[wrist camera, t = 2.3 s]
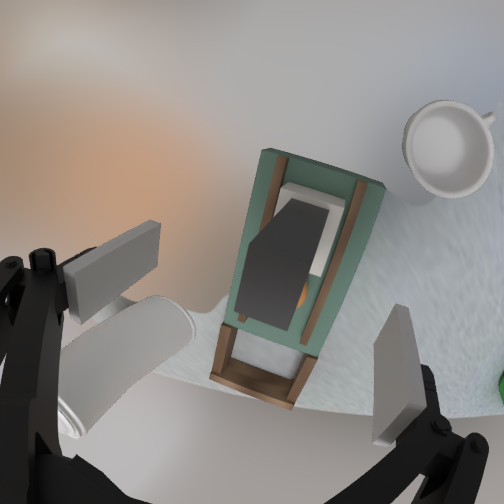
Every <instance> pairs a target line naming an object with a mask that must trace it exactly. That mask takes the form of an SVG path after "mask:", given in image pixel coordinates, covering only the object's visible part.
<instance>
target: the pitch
mask: <svg viewBox="0 0 504 504" xmlns="http://www.w3.org/2000/svg"><path fill="white" fill-rule="evenodd" d="M279 155H283V156H286V157H289V161H288V165H287V169H286V173H285V177H284V181H283V185H282V187H283V186H284V185H285V184H286V183H288V182H291V183H295V184H298V185H301V186H304V187H308V188H311V189H314V190H317V191H320V192H323V193H326V194H330V195H333V196H336V197H339V198H342V199H345V207H344V211H343V214H342V217H341V220H340V223H339V226H338V229H337V232H336V235H335V238H334V241H333V244H332V247H331V249H330V252H329V255H328V258H327V261H326V264H325V266H324V269H323V272H322V275H321V277H319V276H316V275H313V274H310V273H309V274H308V277H307V280H306V282H307V286H308V293H307V297H306V299H305V301H304V303H303V304H302V305H301V306H300V307H299V308H297V309H296V310H295V313H294V316H293V318H292V321H291V323H290V326H289V329H288V331H285V330H282V329H279V328H276V327H273V326H271V325H268V324H265V323H263V322H260V321H257V320H255V319H252V318H249V317H248V318H247V320H246V321H245V323H242V322H240V321H237V319H238V315H239V313H236V312H234V307H235V302H236V298H237V294H238V289H239V285H240V281H241V276H242V272H243V268H244V263H245V259H246V255H247V250H248V246H249V243H250V242H251V241H252V240H253V239H254V238H255V237H256V236H257V235H258V233H259V229H260V225H261V221H262V217H263V212H264V208H265V204H266V200H267V196H268V192H269V188H270V183H271V179H272V175H273V171H274V167H275V163H276V159H277V156H279ZM358 179H360V180H363V181H366V182H367V183H368V185H367V188H366V191H365V194H364V197H363V201H362V204H361V207H360V210H359V213H358V216H357V218H356V221H355V224H354V227H353V230H352V233H351V236H350V238H349V241H348V244H347V247H346V250H345V252H344V255H343V258H342V260H341V263H340V266H339V268H338V271H337V273H336V276H335V279H334V281H333V284H332V286H331V289H330V291H329V294H328V296H327V299H326V301H325V304H324V306H323V309H322V311H321V313H320V316H319V318H318V320H317V323H316V325H315V327H314V330H313V332H312V334H311V337H310V339H309V341H308V344H307V346H305V345H302V344H299V342H300V339H301V336H302V334H303V331H304V329H305V326H306V324H307V321H308V319H309V316H310V314H311V311H312V309H313V306H314V304H315V301H316V299H317V296H318V294H319V291H320V288H321V286H322V283H323V280H324V278H325V275H326V272H327V270H328V267H329V264H330V261H331V259H332V256H333V253H334V250H335V247H336V245H337V242H338V239H339V236H340V233H341V230H342V227H343V224H344V221H345V218H346V215H347V212H348V209H349V206H350V203H351V200H352V197H353V194H354V190H355V187H356V184H357V181H358ZM385 190H386V188H385V186H384V184H383V183H381V182H379V181H376V180H373V179H370V178H367V177H365V176H362V175H359V174H356V173H353V172H350V171H347V170H344V169H341V168H338V167H335V166H332V165H328V164H325V163H322V162H319V161H315V160H312V159H308V158H305V157H301V156H298V155H295V154H291V153H288V152H284V151H280V150H276V149H273V148H268V149H263V150H262V151H261V155H260V159H259V164H258V168H257V173H256V177H255V182H254V186H253V190H252V195H251V199H250V205H249V208H248V213H247V217H246V222H245V226H244V231H243V235H242V240H241V244H240V249H239V254H238V258H237V263H236V267H235V272H234V277H233V282H232V286H231V291H230V295H229V300H228V305H227V309H226V314H225V319H224V323H226V324H228V325H231V326H233V327H236V328H239V329H241V330H244V331H246V332H249V333H251V334H254V335H257V336H259V337H262V338H265V339H267V340H270V341H273V342H276V343H278V344H281V345H284V346H287V347H289V348H292V349H295V350H298V351H301V352H304V353H307V354H309V355H312V356H315V357H317V356H318V354H319V352H320V350H321V348H322V346H323V344H324V342H325V340H326V338H327V335H328V333H329V331H330V329H331V327H332V325H333V323H334V320H335V318H336V316H337V314H338V312H339V309H340V307H341V305H342V302H343V300H344V298H345V296H346V293H347V291H348V289H349V286H350V284H351V281H352V279H353V277H354V274H355V272H356V269H357V267H358V264H359V262H360V259H361V257H362V254H363V252H364V249H365V246H366V244H367V241H368V238H369V236H370V233H371V230H372V228H373V225H374V222H375V219H376V217H377V214H378V211H379V208H380V205H381V202H382V199H383V196H384V193H385Z"/></svg>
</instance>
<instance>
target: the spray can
mask: <svg viewBox="0 0 504 504" xmlns="http://www.w3.org/2000/svg"><path fill="white" fill-rule="evenodd" d="M194 338H195V326H194V323H193V321H192V319H191V317H190V316H189V314H188V313H187V312H186V310H185V309H184V308H182V307H181V306H180V305H179V304H178V303H176V302H174V301H173V300H171V299H169V298H166V297H163V296H150V297H147V298H146V299H144V300H142V301H140V302H138V303H135V304H133V305H131V306H129V307H127V308H126V309H124V310H122V311H120V312H119V313H117V314H115V315H113V316H112V317H110V318H108V319H106V320H105V321H103V322H101V323H99V324H98V325H96V326H94V327H92V328H91V329H89V330H87V331H86V332H84V333H83V334H81V335H80V336H78V337H77V338H76V339H74V340H73V341H72V342H70V343H69V344H68V345H66V346H65V347H63V348H62V349H61V350H60V363H59V381H58V433H61V434H67V435H68V436H70V437H72V438H74V439H80V437H81V436H83V435H85V434H87V432H88V431H89V430H90V429H91V428H92V426H93V425H94V424H95V423H96V422H97V421H98V420H99V419H100V418H101V417H102V416H103V415H104V413H105V412H106V411H107V410H108V409H109V408H110V407H111V406H112V405H113V404H114V403H115V402H116V401H117V400H118V399H119V398H120V397H121V396H122V395H123V394H124V393H125V392H126V391H127V390H128V389H129V388H130V387H131V386H132V385H133V384H135V383H136V382H137V381H139V380H140V379H141V378H143V377H144V376H145V375H147V374H148V373H149V372H151V371H152V370H154V369H155V368H156V367H158V366H159V365H160V364H162V363H163V362H164V361H166V360H167V359H168V358H170V357H171V356H172V355H174V354H175V353H177V352H178V351H180V350H181V349H183V348H184V347H185V346H187V345H189V344H190V343H191V342H192V341H193V340H194Z"/></svg>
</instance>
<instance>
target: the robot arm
mask: <svg viewBox="0 0 504 504" xmlns="http://www.w3.org/2000/svg"><path fill="white" fill-rule="evenodd" d="M160 228H161V223H158V222H155V221H152V220H149V221H146V222H144V223H142V224H141V225H139V226H137V227H135V228H133V229H131V230H129V231H127V232H125V233H123V234H121V235H119V236H117V237H115V238H113V239H112V240H110V241H108V242H106V243H104V244H102V245H101V246H99V247H93V248H89V249H86V250H84V251H82V252H81V253H80V254H77V255H75V256H74V257H72V258H70V259H68V260H66V261H64V262H63V263H61V264H59V265H56V255H55V252H54V251H53V250H52V249H48V248H40V249H37V250H34V251H33V252H31V253H30V254H29V261H30V267H31V269H28V268H24V265H23V259H21V258H20V257H18V256H11V257H10V256H9V257H7V258H5V259H4V260H2V261H1V262H0V365H1V363H2V361H3V359H4V357H5V355H6V359H5V363H4V368H3V374H2V379H1V384H0V504H151V503H148V502H144V501H141V500H137V499H134V498H131V497H129V496H127V495H125V494H124V493H123V492H122V491H121V490H120V489H119V488H118V487H117V486H116V485H115V484H114V483H113V482H112V481H111V480H110V479H109V478H107V476H106V475H105V474H104V473H103V472H102V471H100V470H98V469H97V468H96V467H94V466H93V465H91V464H89V463H88V462H87V461H85V460H84V459H82V458H81V457H79V456H78V455H77V454H76V456H75V457H74V458H73V459H71V458H68V457H65V456H63V455H62V451H61V448H60V445H59V439H58V381H59V363H60V350H61V339H62V330H63V322H64V314H63V311H65V310H66V309H67V308H69V315H70V318H71V319H73V320H74V321H76V322H77V323H79V324H81V325H82V324H83V323H84V322H86V321H87V320H88V319H89V318H91V317H92V316H93V315H95V314H96V313H97V312H98V311H100V310H101V309H102V308H103V307H105V306H106V305H107V304H108V303H110V302H111V301H112V300H114V299H115V298H116V297H117V296H119V295H120V294H121V293H123V292H124V291H125V290H127V289H128V288H129V287H130V286H132V285H133V284H134V283H136V282H137V281H138V280H140V279H141V278H142V277H144V276H145V275H146V274H147V273H149V272H150V271H151V270H153V269H154V268H156V267H157V263H158V250H159V239H160ZM6 298H7V301H6V303H5V300H6ZM6 353H7V354H6ZM436 391H437V390H436V385H435V379H434V375H433V373H432V371H431V370H430V368H429V366H426V365H423V364H420V360H419V355H418V349H417V344H416V339H415V335H414V330H413V326H412V321H411V317H410V313H409V308H407V307H405V306H402V305H399V304H395V306H394V308H393V310H392V311H391V313H390V315H389V317H388V319H387V321H386V323H385V325H384V327H383V328H382V330H381V332H380V334H379V336H378V337H377V339H376V341H375V343H374V408H373V430H372V431H373V432H372V444H375V445H380V446H385V447H389V446H390V445H391V444H392V443H393V442H394V440H396V447H395V448H394V449H393V450H392V451H391V452H390V453H389V454H387V455H386V456H385V457H384V458H383V459H382V460H381V461H380V462H378V463H377V464H376V465H375V466H373V467H372V468H371V469H370V470H369V471H368V472H366V473H365V474H364V475H362V476H361V477H360V478H359V479H357V480H356V481H355V482H353V483H352V484H351V485H350V486H348V487H347V488H346V489H344V490H343V491H341V492H340V493H338V494H337V495H336V496H334V497H333V498H331V499H330V500H328V501H327V502H325V503H324V504H390V503H392V502H393V501H394V500H395V499H396V498H397V497H398V496H399V495H400V494H401V493H402V492H403V491H404V490H405V489H406V488H407V487H408V486H409V485H410V483H411V482H412V481H413V480H414V479H415V478H416V477H417V476H418V475H419V474H422V475H424V476H425V478H424V480H423V482H422V484H421V486H420V488H419V490H418V491H417V493H416V495H415V497H414V499H413V501H412V503H411V504H474V503H475V499H476V496H477V493H478V490H479V487H480V484H481V480H482V477H483V473H484V469H485V465H486V461H487V457H488V453H489V446H488V443H487V441H486V439H485V438H484V437H483V436H482V435H481V434H479V433H471V434H469V435H468V436H467V437H466V438H462V437H461V436H459V435H457V434H455V433H453V432H452V427H451V425H450V422H449V421H448V420H447V419H446V418H445V417H444V416H442V415H441V414H440V407H439V401H438V395H437V392H436Z"/></svg>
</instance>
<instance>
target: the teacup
mask: <svg viewBox="0 0 504 504" xmlns="http://www.w3.org/2000/svg"><path fill="white" fill-rule="evenodd" d="M496 118H497V117H496V115H495V113H494V112H489V113H487V114H485V115H483V116H480V115H479V114H478V113H477V112H475V111H474V110H473V109H472V108H470V107H469V106H467V105H465V104H463V103H460V102H456V101H451V100H438V101H434V102H431V103H429V104H427V105H425V106H424V107H422V108H421V109H419V110H418V111H417V112H416V113H414V114H413V115H412V116H411V117H410V119H409V120H408V122H407V124H406V126H405V129H404V137H403V143H402V149H403V155H404V158H405V161H406V163H407V165H408V166H409V168H410V169H411V171H412V173H413V175H414V176H415V178H416V179H417V181H418V182H419V183H420V184H421V185H422V186H423V187H424V188H425V189H427V190H428V191H429V192H431V193H433V194H435V195H437V196H440V197H443V198H451V199H454V198H461V197H465V196H467V195H470V194H472V193H473V192H475V191H476V190H477V189H479V188H480V187H481V186H482V185H483V183H484V182H485V181H486V179H487V177H488V176H489V174H490V171H491V169H492V165H493V160H494V144H493V139H492V136H491V133H490V130H489V128H488V127H489V126H490V125H491V124H492V123H493V122H494V121H495V120H496Z"/></svg>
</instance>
